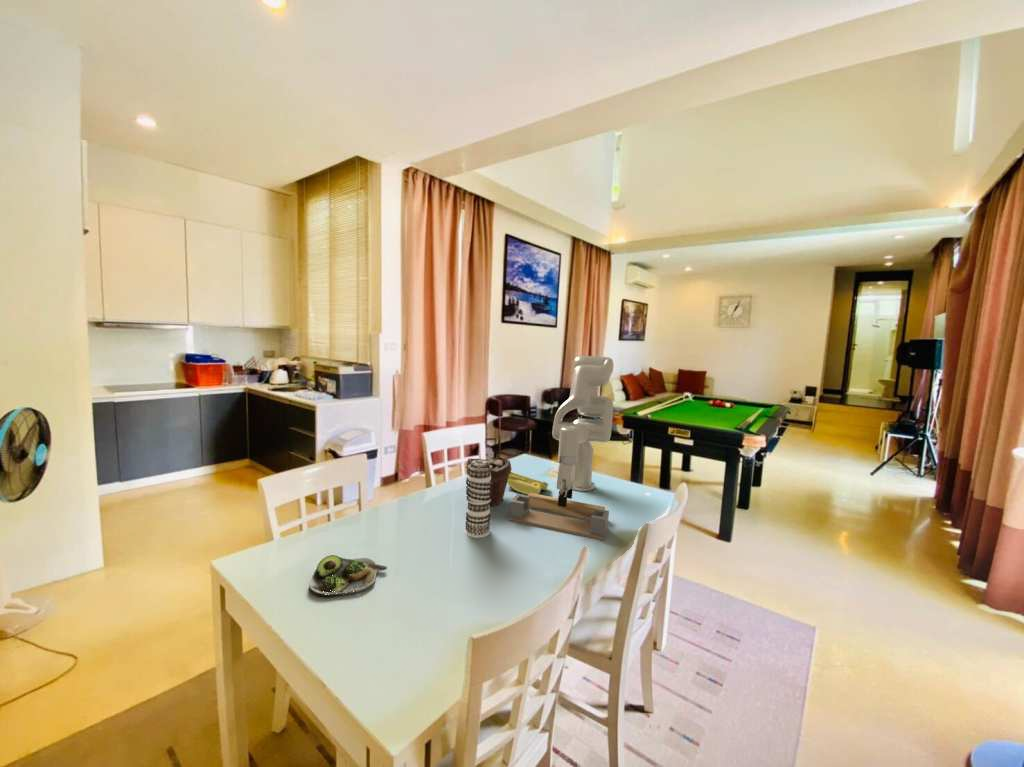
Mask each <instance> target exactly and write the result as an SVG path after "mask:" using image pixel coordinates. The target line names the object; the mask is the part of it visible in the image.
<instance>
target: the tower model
mask: <svg viewBox="0 0 1024 767" xmlns="http://www.w3.org/2000/svg"><path fill="white" fill-rule="evenodd" d="M468 467H469V474H468V476H467V477H466V480H465V485H466V486H465V488H466V489H465V494H466V502H467V507H466V512H465V534H466V535H467V536H468V537H471V538H477V539H482V538H485V537H487V536H489V535H490V532H491V531H490V529H491V521H490V520H491V506H489V504H490V501H491V498H492V497H491V494H492V492H491V491H490V490H491V489H492V488H493V487H492V486H491V485H492V484H493V482H492V481H491V468H492V466H491V465H490V464H489V463H488V462H487V461H485V460H475V461H473V462H472V463H471V464H470V465H468Z"/></svg>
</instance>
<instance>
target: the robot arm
mask: <svg viewBox="0 0 1024 767" xmlns="http://www.w3.org/2000/svg"><path fill="white" fill-rule="evenodd" d="M573 367H574V371H573V376H572V380H571V386H570V391H569V392H570V393H569V397H568V399H567V400H565V401H564V402H563V403H562V404H560V406H559V407H558V409H557V411H556V412H555V414H554V420H553V425H552V428H551V429H552V431H551V432H552V438H553V439H555V440H557V441H558V454H557V456H558V457H557V463H558V464H559V465H558V469H557V470H558V472H557V479H556V480H557V481H556V489H557V490H559V491H558V497H557V498H558V506H561V507H566V505H567V500H568V499H569V500H571V499H572V498H573V491H577V492H590V491H592V490H595V484H594V483H593V482H592V480H593V479H592V478H593V464H594V448H593V444H592V443H591V442H597V443H608V442H609V441H610V439H611V436H612V427H613V418H614V417H613V416H614V414H613V413H614V402H613V399H612V398H610V397H609V396H602V395H599V394H598V391H599V387H605V386H607V385H608V384H609V381H610V379H611V377H612V374H613V371H614V360H613V359H612V358H611V357H607V356H594V355H578V356H576V357H575V358H574V359H573ZM576 409H577V413H578V414H579V415H581V416H584V417H591V418H592V417H594V418H600V419H601V420H597V419H590V418H577V419H574V420H573V422H566V421H563V418H564V416H565V415H566V414H567V413H568V412H570V411H572V410H576Z"/></svg>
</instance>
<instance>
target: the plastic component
mask: <svg viewBox="0 0 1024 767" xmlns="http://www.w3.org/2000/svg"><path fill="white" fill-rule="evenodd" d="M507 484H508V485H509V487H510V488H511V489H513V490H514V491H516V492H518V493H521V494H523V495H527V496H528V495H529V494H530V493H533V494H538V495H541V491H542V490H543V491H547V490H548V486H549V483H547V482H545V481H541V480H536V479H533V478H531V477H527V476H525V475H520V474H518V473H514V472H512V471H511V473H510V474H509V477H508V481H507Z"/></svg>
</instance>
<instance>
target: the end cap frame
mask: <svg viewBox="0 0 1024 767" xmlns="http://www.w3.org/2000/svg"><path fill="white" fill-rule="evenodd" d="M529 502H530V496H528V495H527V494H522V493H521V494H520V493H517V494H516V495H514V497H513V498H512V499H511V500H510V501H509V517H508V521H509V522H515V523H519V524H525V525H530V526H533V527H538V528H543V529H548V530H553V531H557V532H561V533H562V532H563V533H565V534H566V533H567V534H572V535H576V536H581V537H586V538H591V539H596V540H600V541H605V538H606V535H607V532H608V530H609V516H610V515H609V514H610V510H607V509H605V510H602V509H597V508H595V510H594V515H592V516H591V519H590V521H587V520H582V519H577V518H573V517H569V516H568V517H566V516H563V515H562V516H561V515H557V514H552V513H546V512H542V511H537V510H532V509H530V507H529Z"/></svg>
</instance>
